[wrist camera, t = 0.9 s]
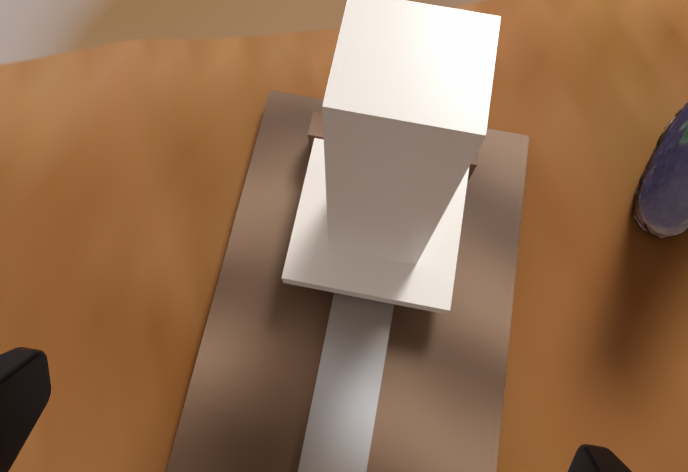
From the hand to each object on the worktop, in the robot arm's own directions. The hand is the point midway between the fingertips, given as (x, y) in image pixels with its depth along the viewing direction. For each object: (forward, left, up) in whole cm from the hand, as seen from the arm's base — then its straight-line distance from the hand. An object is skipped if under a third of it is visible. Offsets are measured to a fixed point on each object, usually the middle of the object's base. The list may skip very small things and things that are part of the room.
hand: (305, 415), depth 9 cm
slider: (+4, -7, -11) cm, 14 cm away
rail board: (+1, -3, -13) cm, 14 cm away
